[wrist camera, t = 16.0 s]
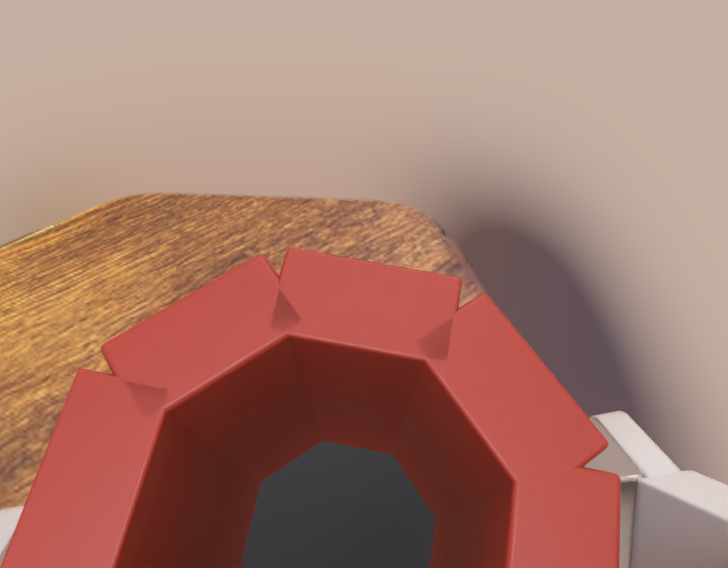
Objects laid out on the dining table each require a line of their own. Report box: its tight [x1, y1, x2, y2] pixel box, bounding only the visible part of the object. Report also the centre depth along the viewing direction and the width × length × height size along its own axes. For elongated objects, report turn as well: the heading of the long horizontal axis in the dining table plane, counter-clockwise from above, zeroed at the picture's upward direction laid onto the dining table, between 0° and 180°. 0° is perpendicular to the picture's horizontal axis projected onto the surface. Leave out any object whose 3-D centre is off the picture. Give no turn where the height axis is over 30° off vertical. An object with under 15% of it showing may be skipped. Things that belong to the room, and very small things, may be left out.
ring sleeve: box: [0, 248, 621, 568], centre depth 10 cm, size 6×6×8 cm
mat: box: [241, 441, 436, 568], centre depth 27 cm, size 10×10×1 cm
